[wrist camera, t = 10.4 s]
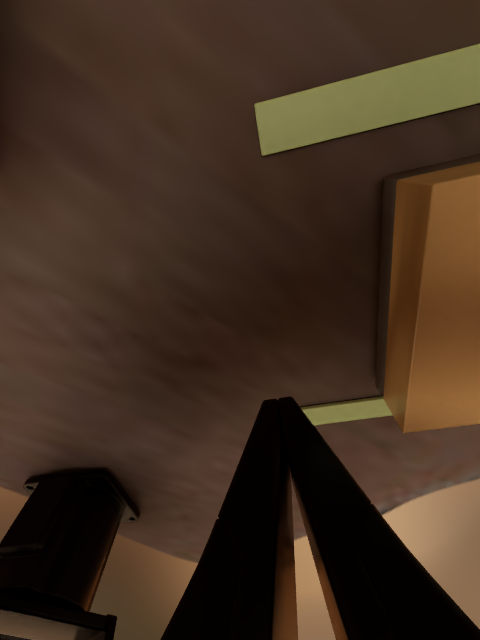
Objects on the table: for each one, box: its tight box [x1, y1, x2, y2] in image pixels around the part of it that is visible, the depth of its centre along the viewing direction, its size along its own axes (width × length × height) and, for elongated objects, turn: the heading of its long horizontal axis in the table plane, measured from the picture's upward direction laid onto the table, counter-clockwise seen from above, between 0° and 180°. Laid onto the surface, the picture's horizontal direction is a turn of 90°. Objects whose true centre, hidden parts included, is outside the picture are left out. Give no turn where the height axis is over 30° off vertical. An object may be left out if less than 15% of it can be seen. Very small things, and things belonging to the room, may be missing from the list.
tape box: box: [254, 44, 480, 425], centre depth 12 cm, size 16×15×1 cm
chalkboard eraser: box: [376, 154, 480, 433], centre depth 11 cm, size 10×5×4 cm, turn 12°
